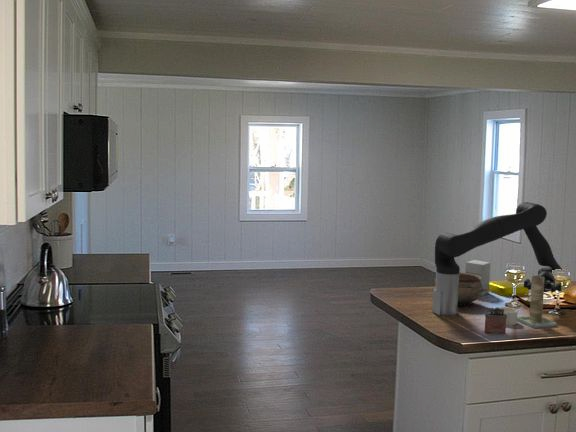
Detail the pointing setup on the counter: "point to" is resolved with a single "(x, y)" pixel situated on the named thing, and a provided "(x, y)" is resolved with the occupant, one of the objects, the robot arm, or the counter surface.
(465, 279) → the brown wooden bowl
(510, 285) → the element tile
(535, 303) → the pestle
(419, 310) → the counter surface
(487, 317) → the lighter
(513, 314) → the crock
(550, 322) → the tray
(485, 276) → the supplement box
